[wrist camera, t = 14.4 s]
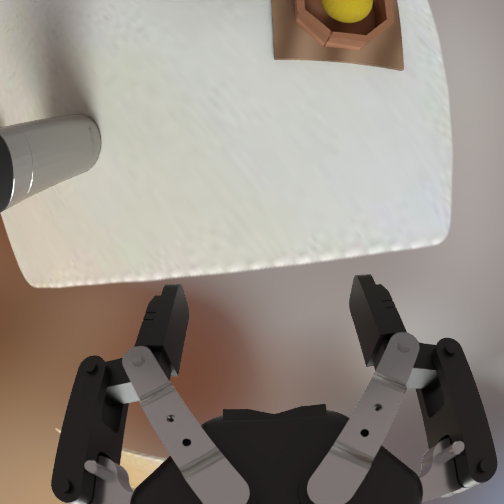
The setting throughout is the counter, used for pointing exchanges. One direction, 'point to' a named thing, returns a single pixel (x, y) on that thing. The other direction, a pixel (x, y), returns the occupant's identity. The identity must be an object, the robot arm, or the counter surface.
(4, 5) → the counter surface
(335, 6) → the lemon
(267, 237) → the counter surface
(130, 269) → the counter surface
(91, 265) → the counter surface
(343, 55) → the brown bowl on base
